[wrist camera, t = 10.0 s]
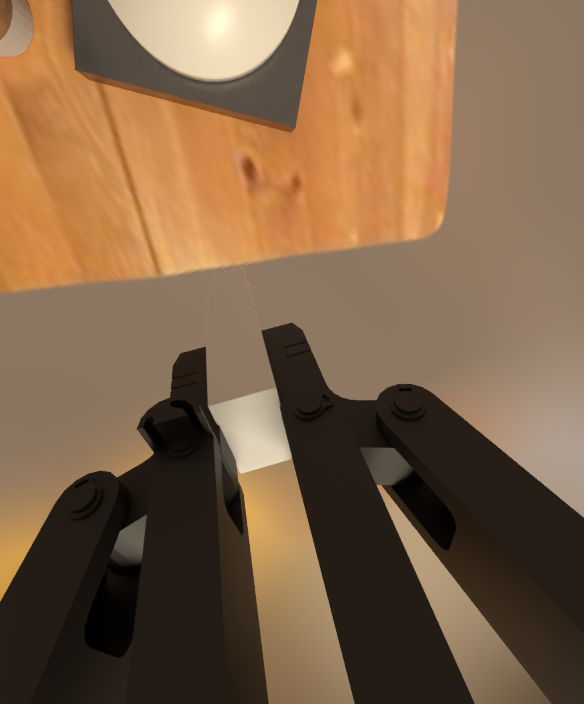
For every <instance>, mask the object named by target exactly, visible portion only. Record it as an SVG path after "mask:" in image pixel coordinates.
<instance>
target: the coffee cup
mask: <svg viewBox="0 0 584 704" xmlns="http://www.w3.org/2000/svg"><path fill="white" fill-rule="evenodd" d="M33 28H34V25H33V17H32V14H31V10H30V7H29V5H28V3H27V0H0V56H1V57H14V56H18V55H20V54H21V53H23V52H24V51H25V50H26V49H27V48H28V47H29V45H30V43H31V41H32V37H33Z"/></svg>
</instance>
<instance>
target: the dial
mask: <svg viewBox="0 0 584 704" xmlns="http://www.w3.org/2000/svg"><path fill="white" fill-rule="evenodd" d="M108 1H109V3H110V4H111V6H112V8H113V9H114V11H115V13H116V14H117V16H118V17H119V18H120V20H121V21H122V23H123V24H124V26H125V27H126V28H127V30H128V31H129V32H130V34H131V35H132V36H133V38H134V39H135V40H136V41H137V42H138V43H139V44H140V45H141V46H142V47H143V49H144V50H145V51H146V52H148V53H149V54H150V55H151V56H152V57H153V58H154V59H156V60H157V61H158V62H160V63H161V64H163V65H164V66H166V67H167V68H168V69H170V70H172V71H174V72H176V73H178V74H180V75H182V76H185V77H188V78H191V79H193V80H198V81H204V82H226V81H231V80H235V79H238V78H241V77H243V76H246V75H248V74H250V73H252V72H253V71H255V70H256V69H258V68H259V67H260V66H262V65H263V64H264V63H265V62H266V61H267V60H268V59H269V58H270V57H271V56H272V55H273V54H274V52H275V51H276V50H277V49H278V47H279V46H280V45H281V43H282V41H283V39H284V38H285V36H286V34H287V32H288V30H289V28H290V26H291V23H292V21H293V18H294V15H295V12H296V9H297V6H298V2H299V0H108Z"/></svg>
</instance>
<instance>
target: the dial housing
mask: <svg viewBox="0 0 584 704" xmlns="http://www.w3.org/2000/svg"><path fill="white" fill-rule="evenodd" d="M316 4H317V0H299V2H298V6H297V9H296V12H295V15H294V18H293V21H292V23H291V26H290V28H289V30H288V32H287V34H286V36H285V38H284V39H283V41H282V43H281V45H280V46H279V47H278V49H277V50H276V51H275V52H274V54H273V55H272V56H271V57H270V58H269V59H268V60H267V61H266V62H265V63H264V64H263V65H262V66H260V67H259V68H258V69H256V70H255V71H253V72H252V73H250V74H248V75H246V76H243V77H241V78H238V79H235V80H231V81H226V82H204V81H198V80H193V79H191V78H188V77H185V76H182V75H180V74H178V73H176V72H174V71H172V70H170V69H168V68H167V67H166V66H164V65H163V64H161V63H160V62H158V61H157V60H156V59H154V58H153V57H152V56H151V55H150V54H149V53H148V52H146V51H145V50H144V49H143V47H142V46H141V45H140V44H139V43H138V42H137V41H136V40H135V39H134V38H133V36H132V35H131V34H130V32H129V31H128V30H127V28H126V27H125V26H124V24H123V23H122V21H121V20H120V18H119V17H118V16H117V14H116V13H115V11H114V9H113V8H112V6H111V4H110V3H109V1H108V0H72V15H73V36H74V57H75V70H76V71H78V72H79V73H81V74H82V75H83V76H85V77H86V78H87V79H89V80H91V81H95V82H99V83H103V84H107V85H111V86H114V87H118V88H122V89H126V90H130V91H134V92H137V93H141V94H145V95H149V96H153V97H156V98H160V99H164V100H168V101H172V102H176V103H179V104H183V105H187V106H191V107H195V108H199V109H202V110H206V111H210V112H214V113H218V114H222V115H225V116H229V117H233V118H237V119H241V120H245V121H248V122H252V123H256V124H260V125H264V126H268V127H271V128H275V129H279V130H283V131H287V132H292V131H293V130H294V129H295V126H296V120H297V115H298V109H299V103H300V97H301V91H302V86H303V80H304V74H305V68H306V62H307V56H308V51H309V45H310V39H311V33H312V27H313V21H314V16H315V10H316Z"/></svg>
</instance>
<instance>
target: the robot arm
mask: <svg viewBox="0 0 584 704" xmlns="http://www.w3.org/2000/svg"><path fill="white" fill-rule="evenodd" d="M203 281H204V308H205V309H204V310H205V337H206V347H203V348H199V349H195V350H191V351H188V352H184V353H181V354H180V355H179V357H178V358H177V360H176V362H175V363H174V365H173V371H172V384H171V390H172V391H171V394H170V398H168V399H165V400H163V401H160V402H159V403H157V404H156V405H154V406H153V407H152V408H150V409H149V410H148V411H147V412H146V413H145V415H144V416H143V417H142V418H141V420H140V423H139V425H138V427H137V430H138V431H139V433H140V434H141V435H142V437H143V438H144V439H145V441H146V442H147V443H148V445H149V446H150V448H151V449H152V450H153V451H154V454H153V455H152V456H151V457H150V458H149V459H148V460H146V461H145V462H143V463H141V464H140V465H138V466H136V467H135V468H133V469H131V470H129V471H128V472H126V473H124V474H122V475H121V476H119V477H116V476H114V475H113V474H112V473H111V472H106V471H97V472H93V473H89V474H87V475H85V476H83V477H82V478H80V479H78V480H76V481H75V482H74V483H73V484H72V485H70V486H69V487H68V488H67V489H66V490H65V491H64V492H63V493H62V495H61V496H60V498H59V499H58V500H57V502H56V503H55V505H54V507H53V508H52V510H51V512H50V514H49V515H48V518H47V519H46V521H45V523H44V524H43V526H42V528H41V530H40V532H39V533H38V535H37V537H36V539H35V540H34V542H33V544H32V546H31V548H30V549H29V551H28V553H27V555H26V557H25V559H24V560H23V562H22V564H21V566H20V567H19V569H18V571H17V573H16V575H15V577H14V578H13V580H12V582H11V584H10V586H9V587H8V589H7V591H6V592H5V594H4V596H3V598H2V600H1V601H0V704H269V703H268V694H267V686H266V678H265V669H264V661H263V653H262V645H261V636H260V627H259V619H258V611H257V602H256V595H255V586H254V577H253V569H252V561H251V552H250V544H249V536H248V527H247V519H246V510H245V502H244V494H243V491H242V488H241V486H240V484H239V482H238V476H237V467H238V469H239V471H240V473H245V472H248V471H252V470H255V469H259V468H262V467H265V466H269V465H272V464H276V463H279V462H282V461H286V460H289V459H293V463H294V467H295V471H296V475H297V479H298V483H299V487H300V491H301V494H302V498H303V502H304V506H305V510H306V513H307V518H308V522H309V526H310V530H311V534H312V537H313V541H314V545H315V549H316V553H317V557H318V561H319V565H320V569H321V573H322V577H323V581H324V584H325V589H326V593H327V597H328V600H329V604H330V608H331V612H332V616H333V620H334V624H335V628H336V632H337V636H338V640H339V643H340V648H341V651H342V655H343V659H344V663H345V667H346V671H347V675H348V679H349V683H350V686H351V691H352V695H353V699H354V702H355V704H475V703H474V701H473V699H472V697H471V695H470V692H469V690H468V688H467V686H466V683H465V682H464V679H463V677H462V674H461V672H460V670H459V668H458V666H457V663H456V661H455V659H454V657H453V654H452V653H451V650H450V648H449V646H448V643H447V641H446V639H445V637H444V634H443V632H442V630H441V628H440V626H439V623H438V621H437V619H436V617H435V614H434V612H433V610H432V608H431V606H430V603H429V601H428V599H427V597H426V594H425V592H424V590H423V588H422V586H421V583H420V581H419V579H418V577H417V574H416V572H415V570H414V568H413V566H412V564H411V561H410V559H409V557H408V555H407V552H406V550H405V548H404V546H403V543H402V541H401V539H400V537H399V534H398V532H397V530H396V528H395V526H394V523H393V521H392V519H391V517H390V515H389V512H388V510H387V508H386V505H385V503H384V501H383V499H382V497H381V494H380V492H379V490H378V488H377V486H376V485H382V486H383V488H384V489H385V490H386V492H387V493H388V494H389V495H390V497H391V498H392V499H393V501H394V502H395V503H396V504H397V506H398V507H399V508H400V510H401V511H402V512H403V513H404V515H405V516H406V517H407V519H408V520H409V521H410V522H411V524H412V525H413V526H414V527H415V529H416V530H417V531H418V533H419V534H420V535H421V537H422V538H423V539H424V540H425V542H426V543H427V544H428V546H429V547H430V548H431V549H432V551H433V552H434V553H435V555H436V556H437V557H438V558H439V560H440V561H441V562H442V564H443V565H444V566H445V567H446V569H447V570H448V571H449V573H450V574H451V575H452V576H453V578H454V579H455V580H456V581H457V583H458V584H459V585H460V587H461V588H462V589H463V590H464V592H465V593H466V594H467V596H468V597H469V598H470V599H471V601H472V602H473V603H474V605H475V606H476V607H477V608H478V610H479V611H480V612H481V614H482V615H483V616H484V617H485V619H486V620H487V621H488V623H489V624H490V625H491V626H492V628H493V629H494V630H495V632H496V633H497V634H498V635H499V637H500V638H501V639H502V640H503V642H504V643H505V644H506V646H507V647H508V648H509V650H510V651H511V652H512V653H513V655H514V656H515V657H516V659H517V660H518V661H519V662H520V664H521V665H522V666H523V668H524V669H525V670H526V671H527V673H528V674H529V675H530V677H531V678H532V679H533V680H534V682H535V683H536V684H537V685H538V687H539V688H540V689H541V691H542V692H543V693H544V694H545V696H546V697H547V698H548V700H549V701H550V702H551V703H552V704H584V518H583V517H582V516H581V515H580V514H578V513H577V512H576V511H575V510H574V509H572V508H571V507H570V506H569V505H567V504H566V503H565V502H564V501H563V500H561V499H560V498H559V497H558V496H557V495H555V494H554V493H553V492H552V491H550V490H549V489H548V488H547V487H546V486H544V485H543V484H542V483H541V482H540V481H538V480H537V479H536V478H535V477H534V476H532V475H531V474H529V472H527V471H526V470H525V469H524V468H523V467H521V466H520V465H519V464H518V463H517V462H515V461H514V460H513V459H512V458H510V457H509V456H508V455H506V453H504V452H503V451H502V450H501V449H500V448H498V447H497V446H496V445H495V444H493V443H492V442H491V441H490V440H488V439H487V438H486V437H485V436H484V435H482V434H481V433H480V432H479V431H478V430H476V429H475V428H474V427H473V426H472V425H470V424H469V423H468V422H467V421H466V420H464V419H463V418H462V417H461V416H459V415H458V414H457V413H456V412H455V411H453V410H452V409H451V408H450V407H449V406H447V405H446V404H445V403H443V402H442V401H441V400H440V399H439V398H438V397H436V396H435V395H434V394H433V393H431V392H430V391H428V390H426V389H424V388H423V387H420V386H416V385H412V384H397V385H395V386H391V387H388V388H387V389H385V390H384V391H383V392H382V393H380V395H379V397H378V399H377V400H361V401H359V400H349V399H345V398H341V397H340V396H338V395H336V394H334V393H333V392H332V391H331V390H330V389H329V388H328V386H327V385H326V383H325V380H324V378H323V376H322V374H321V371H320V369H319V367H318V364H317V362H316V360H315V358H314V355H313V353H312V352H311V348H310V346H309V344H308V342H307V339H306V337H305V335H304V333H303V330H301V329H300V328H299V327H297V326H296V325H295V324H293V323H289V324H286V325H281V326H278V327H274V328H270V329H266V330H262V331H261V327H260V324H259V320H258V316H257V313H256V309H255V305H254V302H253V298H252V294H251V291H250V287H249V284H248V280H247V276H246V273H245V269H244V266H241V267H237V268H233V269H229V270H225V271H222V272H217V273H214V274H209V275H206V276H203ZM236 465H237V467H236Z"/></svg>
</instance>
